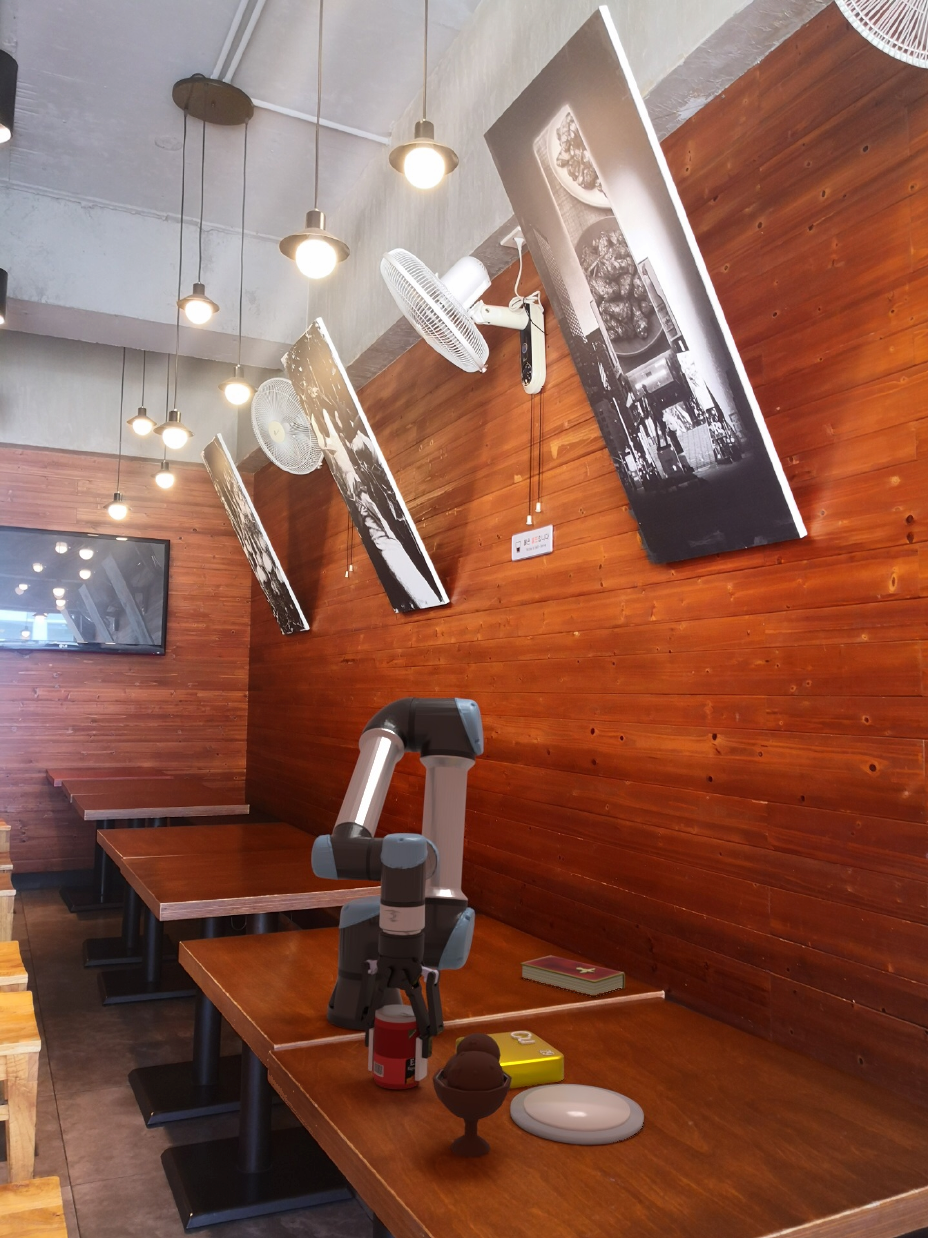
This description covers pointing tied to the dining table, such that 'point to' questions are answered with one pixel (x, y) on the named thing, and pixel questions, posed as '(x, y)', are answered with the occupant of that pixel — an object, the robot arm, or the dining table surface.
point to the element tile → (527, 1058)
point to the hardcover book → (573, 975)
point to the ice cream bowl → (472, 1089)
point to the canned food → (395, 1047)
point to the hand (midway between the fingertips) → (397, 1073)
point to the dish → (576, 1114)
